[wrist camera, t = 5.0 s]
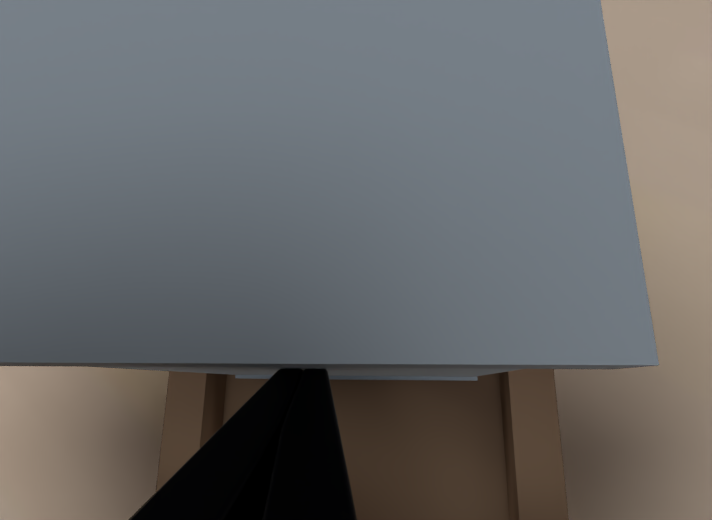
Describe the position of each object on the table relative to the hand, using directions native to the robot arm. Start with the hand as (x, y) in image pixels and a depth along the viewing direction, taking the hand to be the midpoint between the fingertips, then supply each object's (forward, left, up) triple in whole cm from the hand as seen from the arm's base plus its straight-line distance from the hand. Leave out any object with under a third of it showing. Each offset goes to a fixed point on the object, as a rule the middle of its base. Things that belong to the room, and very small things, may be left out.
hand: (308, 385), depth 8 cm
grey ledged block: (+2, -3, -6) cm, 7 cm away
